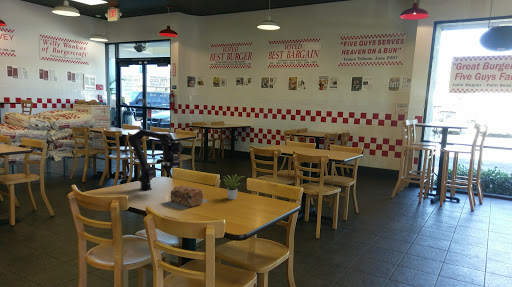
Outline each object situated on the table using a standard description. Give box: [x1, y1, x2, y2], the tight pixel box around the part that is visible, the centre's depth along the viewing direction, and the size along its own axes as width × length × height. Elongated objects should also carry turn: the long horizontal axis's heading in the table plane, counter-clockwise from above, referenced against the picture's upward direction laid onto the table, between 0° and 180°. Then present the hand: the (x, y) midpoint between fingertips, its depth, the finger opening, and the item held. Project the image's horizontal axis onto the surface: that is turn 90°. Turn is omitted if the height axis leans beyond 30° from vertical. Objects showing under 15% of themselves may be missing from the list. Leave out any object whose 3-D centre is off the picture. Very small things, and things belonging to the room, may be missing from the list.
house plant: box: [222, 173, 245, 200], centre depth 237 cm, size 14×14×16 cm
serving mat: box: [161, 198, 210, 211], centre depth 225 cm, size 18×24×1 cm
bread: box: [170, 185, 204, 208], centre depth 222 cm, size 19×11×10 cm, turn 53°
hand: (168, 174), depth 246 cm, fingers closed
